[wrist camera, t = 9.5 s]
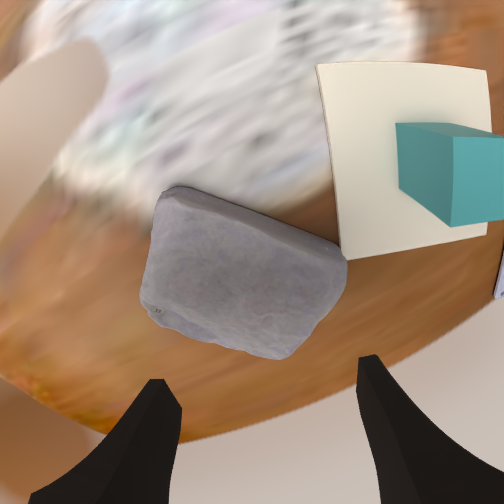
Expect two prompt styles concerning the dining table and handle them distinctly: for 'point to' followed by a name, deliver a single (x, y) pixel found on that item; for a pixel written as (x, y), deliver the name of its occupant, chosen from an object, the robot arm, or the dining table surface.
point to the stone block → (237, 275)
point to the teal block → (452, 171)
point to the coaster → (391, 147)
